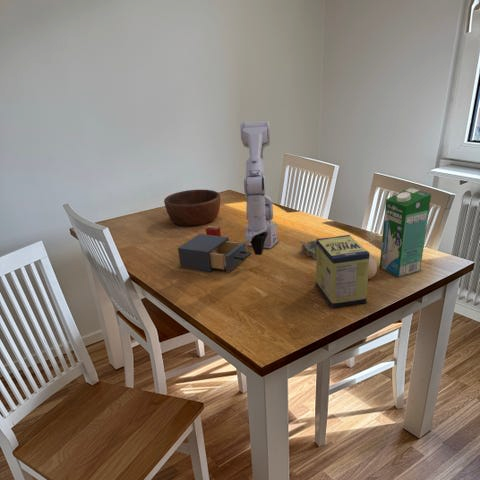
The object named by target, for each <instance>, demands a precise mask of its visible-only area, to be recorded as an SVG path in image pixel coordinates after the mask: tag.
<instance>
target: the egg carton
mask: <svg viewBox="0 0 480 480" xmlns="http://www.w3.org/2000/svg"><path fill="white" fill-rule="evenodd" d="M299 243H300V244H302V245H301V253H302V254H306V256H308V257H312V259H313V260H316V250H317V239H315V240H311V241H307V243H305V241H301V240H300V241H299Z"/></svg>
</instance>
